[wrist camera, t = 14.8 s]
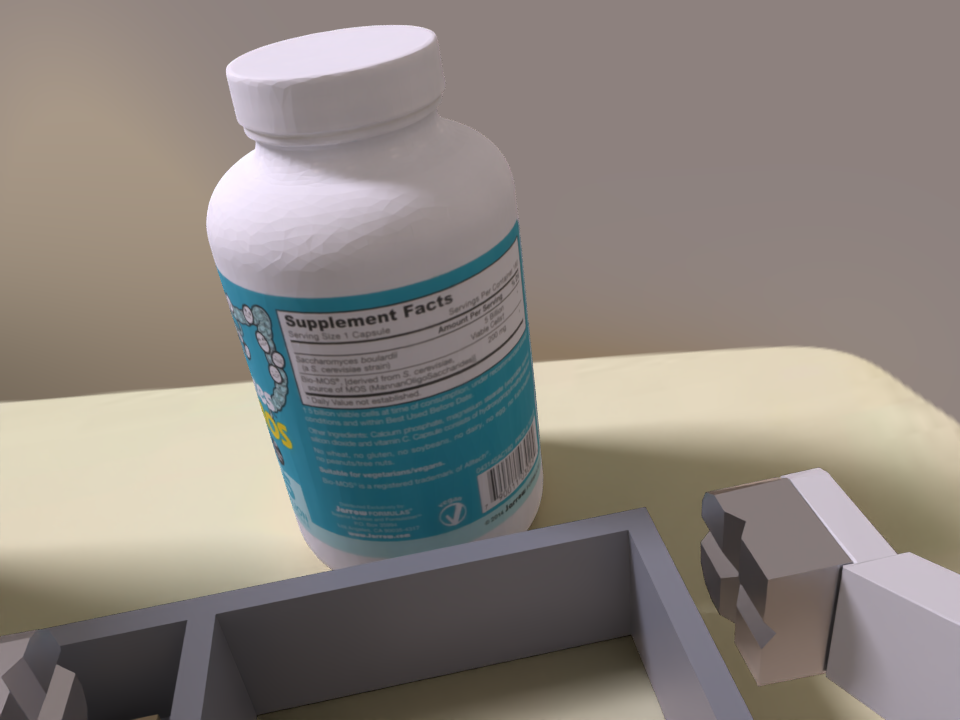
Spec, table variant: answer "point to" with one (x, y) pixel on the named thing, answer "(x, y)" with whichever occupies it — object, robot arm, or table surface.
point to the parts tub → (408, 628)
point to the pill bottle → (379, 297)
